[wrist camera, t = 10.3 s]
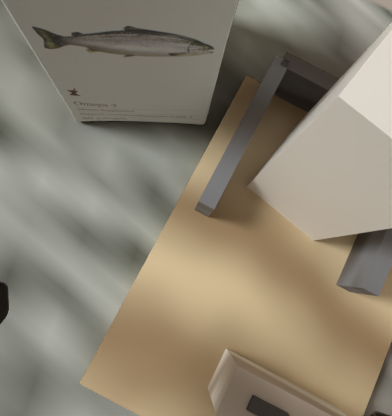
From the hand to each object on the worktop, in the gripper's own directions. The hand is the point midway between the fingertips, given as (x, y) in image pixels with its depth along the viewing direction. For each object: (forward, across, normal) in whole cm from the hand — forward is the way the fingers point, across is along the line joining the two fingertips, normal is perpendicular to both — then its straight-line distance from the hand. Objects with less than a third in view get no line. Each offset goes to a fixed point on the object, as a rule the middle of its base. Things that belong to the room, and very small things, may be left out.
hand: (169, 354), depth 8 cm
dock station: (+11, -3, +3) cm, 12 cm away
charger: (+13, -3, -2) cm, 13 cm away
